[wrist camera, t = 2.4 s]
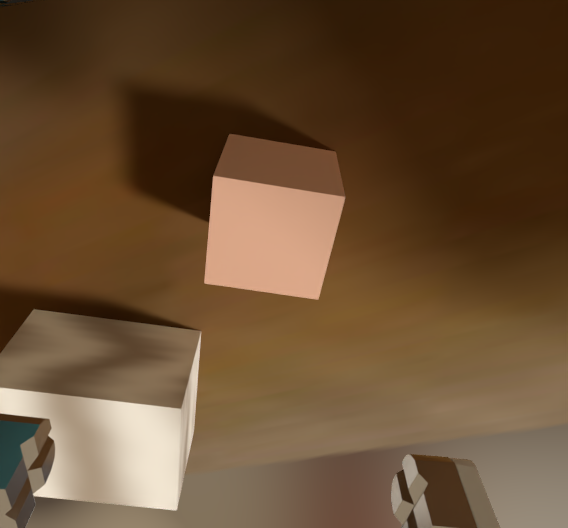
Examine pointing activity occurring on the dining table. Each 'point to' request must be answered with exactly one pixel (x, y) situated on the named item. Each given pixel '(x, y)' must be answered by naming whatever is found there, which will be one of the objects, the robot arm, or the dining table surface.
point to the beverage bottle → (13, 0)
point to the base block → (106, 404)
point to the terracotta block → (273, 216)
